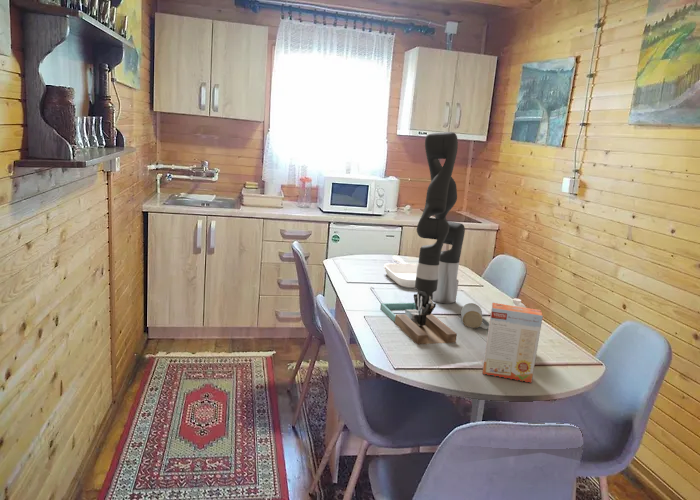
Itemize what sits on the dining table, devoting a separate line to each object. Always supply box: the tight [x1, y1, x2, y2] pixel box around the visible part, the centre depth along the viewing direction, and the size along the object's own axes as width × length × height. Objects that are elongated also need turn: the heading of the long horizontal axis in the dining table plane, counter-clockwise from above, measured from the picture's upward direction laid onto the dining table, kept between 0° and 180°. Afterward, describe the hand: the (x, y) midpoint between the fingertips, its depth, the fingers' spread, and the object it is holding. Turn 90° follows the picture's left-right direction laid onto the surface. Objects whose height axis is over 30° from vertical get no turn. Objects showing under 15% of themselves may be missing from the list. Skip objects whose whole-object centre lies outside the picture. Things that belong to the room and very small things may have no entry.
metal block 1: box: [404, 309, 418, 318], centre depth 192 cm, size 4×4×4 cm
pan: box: [383, 255, 418, 289], centre depth 256 cm, size 27×44×5 cm, turn 16°
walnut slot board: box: [394, 313, 458, 345], centre depth 183 cm, size 14×19×4 cm
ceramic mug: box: [460, 302, 490, 330], centre depth 195 cm, size 11×8×8 cm
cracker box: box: [482, 302, 544, 384], centre depth 155 cm, size 14×6×21 cm, turn 75°
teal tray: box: [379, 302, 416, 323], centre depth 198 cm, size 14×14×3 cm
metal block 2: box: [409, 312, 424, 326], centre depth 188 cm, size 4×4×4 cm
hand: (421, 324), depth 185 cm, fingers closed
